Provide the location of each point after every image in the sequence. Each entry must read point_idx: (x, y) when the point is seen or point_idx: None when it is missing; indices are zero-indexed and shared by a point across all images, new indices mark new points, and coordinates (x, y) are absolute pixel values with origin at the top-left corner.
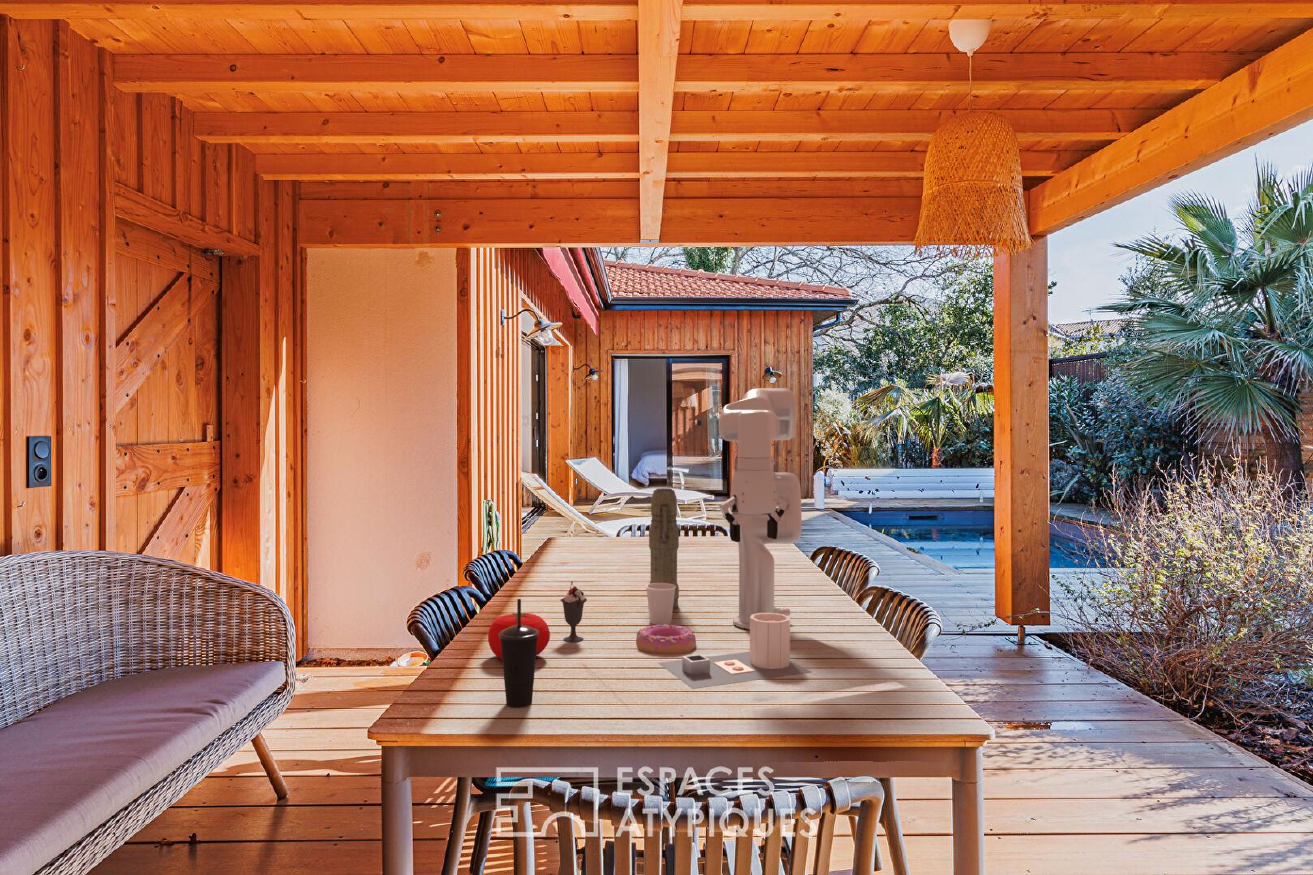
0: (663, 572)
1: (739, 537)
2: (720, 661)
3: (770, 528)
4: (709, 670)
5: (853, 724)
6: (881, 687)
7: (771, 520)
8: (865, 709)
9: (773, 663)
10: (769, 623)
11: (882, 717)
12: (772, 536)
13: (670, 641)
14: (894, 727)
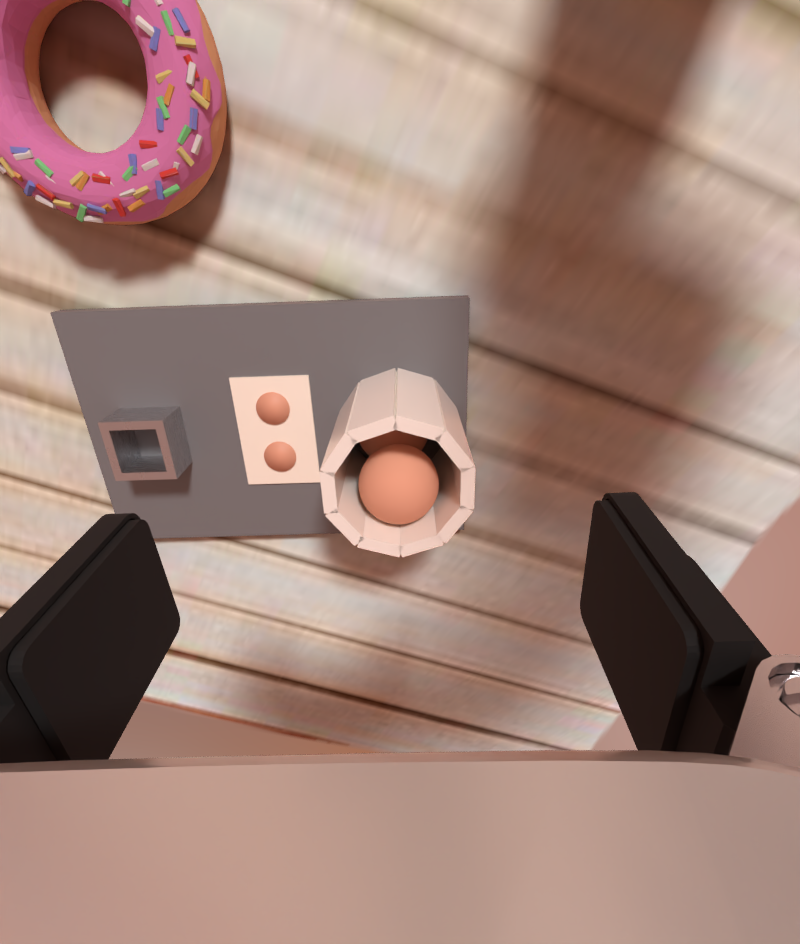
0: None
1: (154, 661)
2: (253, 378)
3: (627, 632)
4: (187, 465)
5: (383, 725)
6: (565, 615)
7: (693, 738)
8: (447, 687)
9: None
10: (360, 546)
11: (450, 718)
12: (587, 604)
13: (80, 218)
14: (439, 748)
